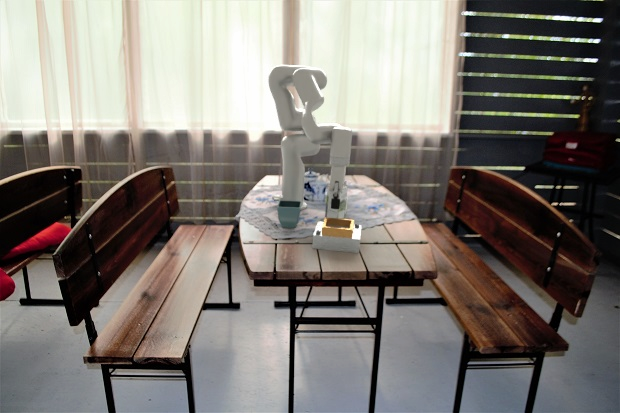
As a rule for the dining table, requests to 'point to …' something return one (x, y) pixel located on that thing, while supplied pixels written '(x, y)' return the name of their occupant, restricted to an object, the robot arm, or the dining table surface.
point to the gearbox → (337, 235)
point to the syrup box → (341, 211)
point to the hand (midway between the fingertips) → (336, 205)
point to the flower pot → (288, 213)
